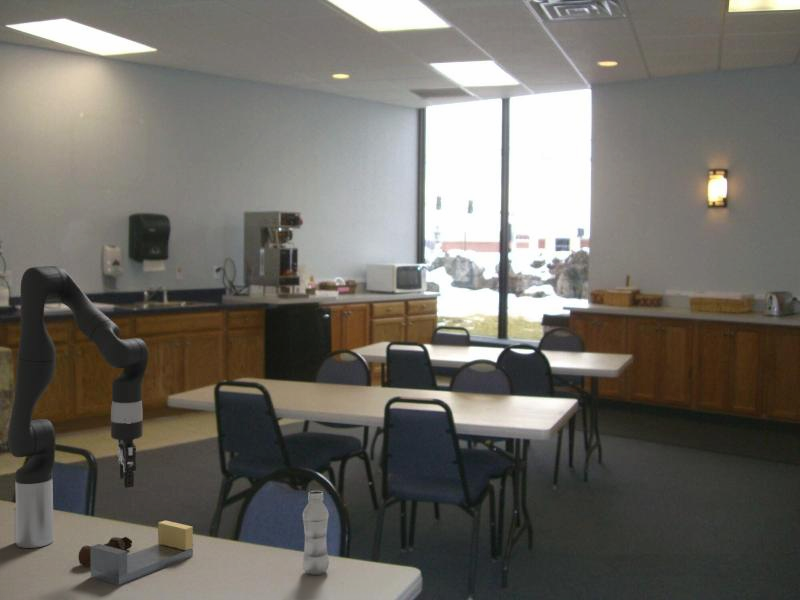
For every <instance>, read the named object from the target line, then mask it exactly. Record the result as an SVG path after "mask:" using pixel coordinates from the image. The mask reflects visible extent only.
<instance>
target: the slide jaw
mask: <svg viewBox="0 0 800 600" xmlns="http://www.w3.org/2000/svg"><path fill="white" fill-rule="evenodd" d="M193 530H194V527H193V526H190V525H188V524H183V523H179V522H174V521H170V520H163V521H159V522H158V523H157V544H162V545H166V546H170V547H174V548H178V549H182V550H188V549H191V548H193V549H194V536H193V534H194V531H193Z"/></svg>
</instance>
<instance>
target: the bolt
mask: <svg viewBox="0 0 800 600" xmlns="http://www.w3.org/2000/svg"><path fill="white" fill-rule="evenodd" d="M103 545H105V546H109V547H113V548H117V549H120V550H124V551H128V550H129V549H131V548H132V546H133V540H132V539H130V538H129V537H127V536H124V537H116V536H115V537H111V538H110V539H109V540H108V542H107V543H104V544H103ZM91 546H92V545H91ZM91 546H90V545H83V546H82V547H81V548H80V550H79V552H78V555H77V557H78V562H79V563H80V566H81V567H84V568H88V569H91V558H90V547H91Z"/></svg>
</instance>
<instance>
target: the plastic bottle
mask: <svg viewBox="0 0 800 600" xmlns="http://www.w3.org/2000/svg"><path fill="white" fill-rule="evenodd" d="M307 496H308V497H307V501H308V503H307V505H306V506H305V507H304V509H303V511H302V520H303V521H302V522H303V527H304V530H303V531H304V548H303V551H304V552H303V557H302V569H303V570H304V572H305V573H306V574H308V575H314V576H315V575H316V576H317V575H321V574H325V573H326V572H327V570H329V569H328V568H329V565H330V562H329V559H330V558H329V554H328V545H327V535H328V534H327V533H328V532H327V531H328V521H329V516H330V515H329V511H328V508H327V507H326V505H325V504H324V502H323V501H324V491H322V490H311V491H309V492H308V495H307Z"/></svg>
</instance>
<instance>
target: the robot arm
mask: <svg viewBox="0 0 800 600" xmlns="http://www.w3.org/2000/svg"><path fill="white" fill-rule="evenodd" d="M20 281H21V282H20V328H19V329H20V330H19V331H20V333H19V343H18V344H19V345H18V353H17V361H16V377H15V378H16V379H15V389H14V397H13V404H12V409H11V414H10V420H9V425H8V430H7V431H8V432H7V447H8V451H9V452H10V454H11V455H12V456H13V457H15V458H26V457H30V456H31V458H30V459H29V460H28V461H27V462H26V463H25V464H24V465H22V466H20V467H19V468H17V469H16V471H15V475H14V476H15V480H14V481H15V482H14V483H15V484H14V485H15V507H14V508H13V521H14V522H13V525H14V526H13V527H14V528H13V529H14V533H13V534H14V535H13V536H14V543H15V544H16V547H18V548H23V549H24V548H25V549H29V548H30V549H35V548H42V547H45V546H47V545H50V544H52V543H53V542H54V491H53V490H54V489H53V488H54V487H53V485H54V484H53V483H54V482H53V480H54V479H53V474H54V473H53V472H54V470H55V464H56V463H55V461H56V460H55V459H56V457H55V456H56V432H55V428H54V425H53V423H52V422H51V421H50V420H49V419H46V418H39V419H33V420H32V418H33V413H34V410H35V408H36V405H37V404H38V401H39V400H40V398H41V397H42V395H43V394H44V393H45V391H46V390H47V389H48V386H49V385H50V384H51V382H52V380H53V378H54V375H55V369H56V361H57V360H56V358H57V350H56V346H55V345H54V342H53V340H52V338H51V335H50V333H49V332H48V330H47V328H46V323H45V304H46V303H49V302H56V301H57V302H60V303H62V304H63V305H64V306H66V307H68V308H69V309H70V311H71V312H72V315H73V318H74V322H75V325H76V327H77V328H78V330H79V331H80V332H81V334H83V335H84V336H85V337H86V338H87V339H89V340H90V341H91V343H93V344H94V345H95V346H96V347H97V350H98V351H99V353H100V354H101V356H102V358H103V359H104V360H105V362H106V363H107V364H108V365H109V366H111V367H113V368H115V369H123V371H122V373H121V374H120V375H119V376H118V377H116V378H114V379H113V381H112V385H111V387H112V389H111V394H112V396H111V398H112V399H111V401H112V403H111V408H110V437H111V438H112V439H113V440H117V460H118V464H119V479H120V480H121V479H123V487H124V488H133V487H134V485H135V477H134V476H135V472H137V466H136V465H137V464H136V463H137V462H136V461H137V457H136V456H137V454H136V453H137V446H136V444H135V442H134V440H137V439H140V438H142V437H143V425H144V423H143V419H144V418H143V411H144V410H143V403H142V402H143V401H142V400H143V399H142V398H143V397H142V396H143V393H142V391H143V390H142V389H143V387H142V386H143V381H144V378H145V374H146V370H147V366H148V362H149V361H148V360H149V348H148V346H147V343H146V342H145V341H144V340H142V339H141V338H139V337H138V338H137V337H132V338H126V339H120V335H121V330H120V327H119V326H118V325H117V324H116V323H115V322H113V321H112V320H111V319H110V318H109V317H108V316H107V315H106V314H105V313H104V312H102V311H101V310H100V309H99V308H98V307H97V306H96V305H94V303H93V302H92V301H91V299H89V297H88V296H87V294H85V292H84V291H83V290H82V289H81V287H80V286H79V285H78V284H77V282H76V281H75V280H74V279H73V277H72V276H71V275H70V273H68V272H67V271H66V270H65V269H64V268H62V267H61V266H56V265H49V266H48V265H47V266H46V265H45V266H34V267H29V268H27V269H26V270H25V271H24V272H23V274H22V277H21V280H20ZM130 465H131V466H130Z"/></svg>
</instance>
